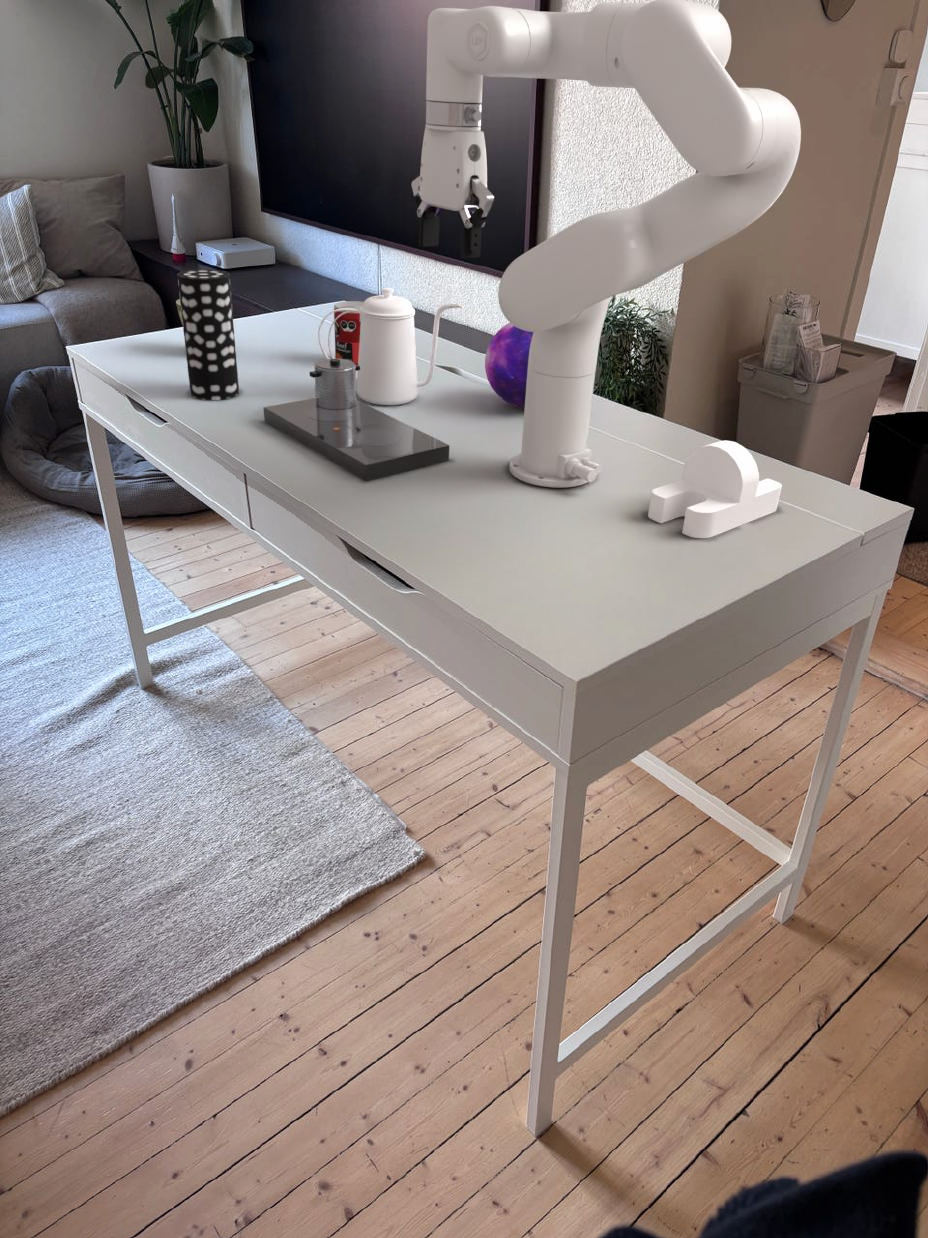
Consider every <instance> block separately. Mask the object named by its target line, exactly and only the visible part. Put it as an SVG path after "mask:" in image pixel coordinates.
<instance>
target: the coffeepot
mask: <svg viewBox="0 0 928 1238" xmlns="http://www.w3.org/2000/svg"><path fill="white" fill-rule="evenodd" d="M380 291H381V293H383V294H380V295H379V294H378V295H373V296H369V297H367V298H366V299H365V300H364V301H363V302H364V303H363V306H362V307H361V308H360V310H358V309H353V308H341V309H336V310H334V309H333V310H332V311H330V312H328V313H327V314H326V316H324V318H323V319H322V320H321V322H320V325H319V327H318V333H317V334H318V335H317V337H318V338H317V339H318V345H319V348H320V349H321V352H322V354H323V356H324V359H336V358H335V355H334V354H335V353H334V351H333V349H332V341H331V339H332V338H331V337H332V329H333V328H334V327H333V326H334V322H335V321H336V319H337V318H338V317H340V316H341V315H343V314H345V313H348V312H354V313H359V314H360V322H361V326H360V343H359V359H358V365H359V366H360V370H358V371H357V375H356V395H357V396H358V397H359V398H360V399H361V400H362V401H364V402H366V403H370V404H373V405H379V406H400V405H404V404H408V403H411V402H413V401H414V400H415V399H416V398H417V397H418V395H419V388H421V387H424V386H426V385H428V384H429V383H430V382H431V380H432V379H433V376H434V371H435V366H436V355H437V346H438V337H439V329H440V328H439V327H440V319H441V316H442V313H443V312H445V311H447V310H449V309H464V308H465V307H464V306H463V305H461V304H460V303H457V302H448V303H444V304H443V305H441V306H440V307H438V309H437V310H436V312H435V315H434V320H433V321H434V322H433V330H432V340H431V349H430V356H429V357H430V358H429V365H428V366H429V367H428V371H427V375H426V378H424V380H421V381H418V366H417V363H418V362H417V349H416V346H417V345H416V332H415V331H416V330H415V328H416V327H415V315H416V309H415V308H414V307H413V305H412V302H411V301H410V300H409V299H407V298H406V297H403V296H399V295H392V294H393V293H394V292H395V289H394V288H393V287H386V286H385V287H381V289H380ZM337 311H345V312H343V313H341V314H340V315H339V316H338V317H337V318H336V319H335V320H334V319H333V321H332V323H331V325H330V326H329V330H328V336H327V347H328V351H329V355H330V356H329V355H328V354H327V352H326V350H325V347H324V344H323V340H322V328H323V324H324V322H325V320H326V319H327V318H328V316H330V315H332V314H334V312H337ZM330 357H331V358H330Z"/></svg>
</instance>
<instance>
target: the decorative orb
mask: <svg viewBox="0 0 928 1238" xmlns="http://www.w3.org/2000/svg"><path fill="white" fill-rule="evenodd" d="M532 336H533V332H529V331H524V330H521V329H519V328H517V327H515V326H514V325H512V324H511V323H510V322H508V323H507V324H505V325H503V326H502V327H501V328H500V329H498V331H496V333H495V334H494V335H493V337H492V339H491V340H490V342H489V344H488V346H487V349H486V353H485V358H484V367H485V368H484V369H485V370H484V371H485V375H486V378H487V381H488V383H489V385H490V387H491V389H492V390H493V392H494V393H495V394H496V395H497V396H498V397H499V398H500V399H502V401H504V402H506V403H508V404H510V405H513V406H514V407H519V408H525V397H526V384H527V371H528V360H529V350H530V344H531V340H532Z"/></svg>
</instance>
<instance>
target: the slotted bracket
mask: <svg viewBox="0 0 928 1238" xmlns="http://www.w3.org/2000/svg"><path fill="white" fill-rule="evenodd" d="M782 488H783V485H782V483H780V482H779V481H776V480H774V479H771V478H764V479H762V480H760V473H759V469H758V464H757V462H756V460H755V458H754V456H753V454H751V452H750V451H748V449H747V448H746V447H745V446H743V445H741V444H739V443H738V442H736V441H732V440H726V439H725V440H720V441H716V442H712V443H709V444H706V445H702V446H699V447H698V448H696V449H695V450H693V451H691V452H690V453H689V455H688V456H687V458H686V459H685V462H684V465H683V470H682V477H681V479H679V480H677V481H673V482H671V483H667V484H665V485H662V486H658V487H656V488H653V489H652V490H651V495H650V501H649V506H648V513H647V517H648V518H649V519H650V520H653V521H654V522H657V523H658V524H664V523H666V522H669V521H672V520H674V519H678V518H679V517H680V518H681V517H684V521H683V525H682V532H681V534H683V535H686V536H687V537H689V538H694V539H709V538H713V537H715V536H718V535H720V534H722V533H725V532H727V531H730V530H732V529H735V528H738V527H740V526H743V525H745V524H748V523H750V522H753V521H755V520H758V519H761V518H763V517H765V516H768V515H770V514H772V513H775V512H776V511H777V510H778V505H779V502H780V501H779V500H780V496H781V491H782Z"/></svg>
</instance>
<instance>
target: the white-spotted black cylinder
mask: <svg viewBox="0 0 928 1238" xmlns="http://www.w3.org/2000/svg"><path fill="white" fill-rule="evenodd" d="M230 278H231V277H230V273H229V272H227V271H225V270H219V269H209V268H207V269H206V268H204V269H203V268H201V269H187V270H183V271H179V272H178V273H177V283H178V284H177V285H178V292H179V294H178V295H179V299H180V303H181V312H182V321H183V324H182V330H183V339H184V347H185V348H184V349H185V356H186V364H187V375H188V384H189V393H190V396H191V397H192V398H195V399H198V400H203V401H204V400H205V401H223V400H229V399H232V398H235V397H237V396H238V395H239V394H240V385H239V373H238V362H237V352H236V351H237V349H236V339H235V338H236V337H235V327H234V326H235V325H234V315H233V314H234V313H233V303H232V291H231V289H232V288H231V279H230Z"/></svg>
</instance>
